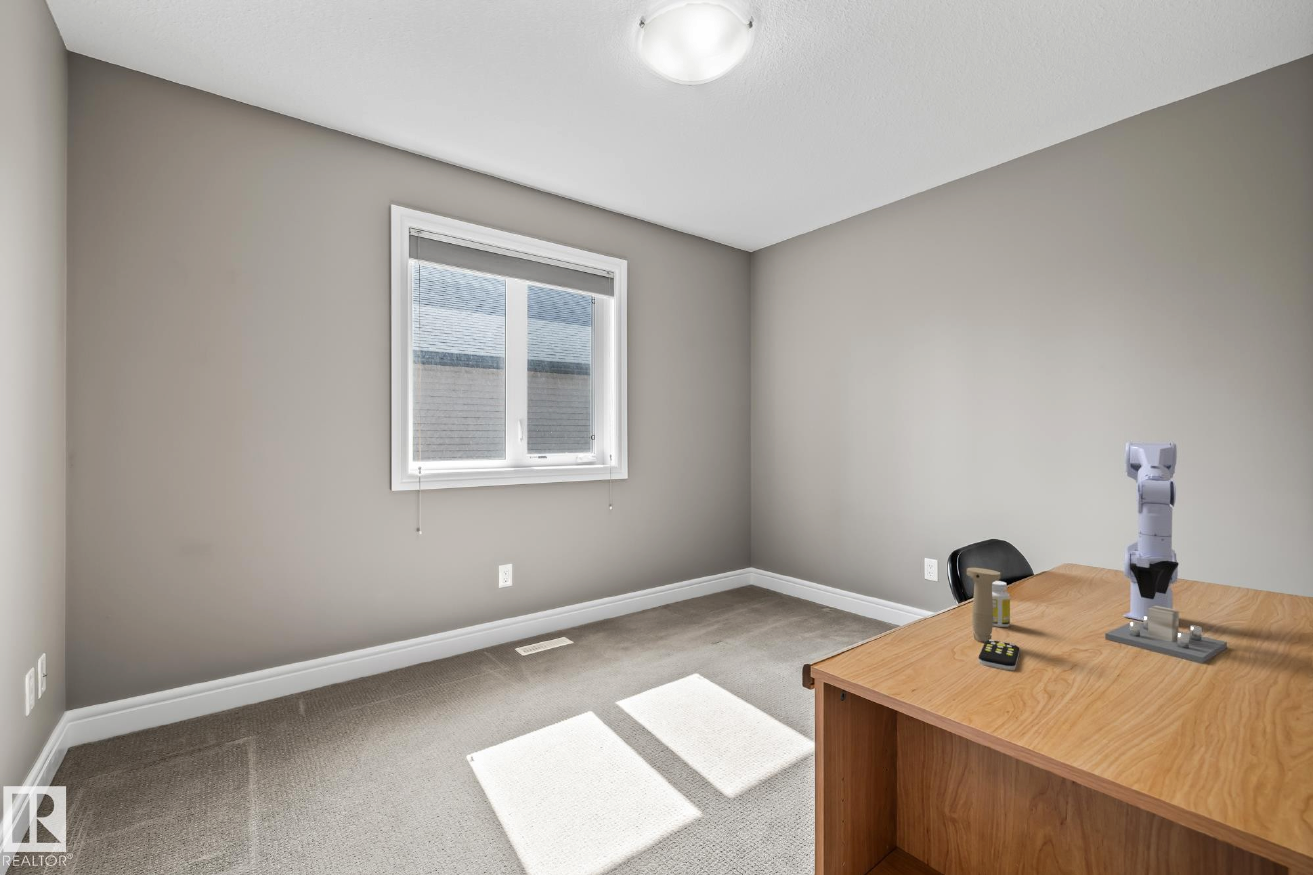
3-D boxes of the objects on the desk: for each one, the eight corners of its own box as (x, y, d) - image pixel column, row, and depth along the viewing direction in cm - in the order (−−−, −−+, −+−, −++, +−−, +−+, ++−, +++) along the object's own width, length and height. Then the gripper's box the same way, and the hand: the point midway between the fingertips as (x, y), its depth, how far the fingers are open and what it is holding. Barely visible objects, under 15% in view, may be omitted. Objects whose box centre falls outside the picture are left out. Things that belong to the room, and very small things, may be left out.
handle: (973, 633, 130) (973, 566, 130) (1003, 642, 125) (1004, 572, 125) (961, 637, 127) (962, 569, 127) (992, 646, 122) (993, 575, 122)
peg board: (1133, 626, 136) (1133, 609, 136) (1226, 647, 123) (1227, 628, 123) (1105, 638, 128) (1105, 620, 128) (1202, 663, 114) (1202, 643, 114)
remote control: (977, 665, 113) (977, 655, 113) (985, 646, 123) (985, 637, 123) (1014, 673, 109) (1014, 663, 109) (1019, 653, 120) (1020, 643, 120)
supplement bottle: (1006, 621, 139) (1007, 580, 139) (1012, 628, 134) (1013, 586, 134) (981, 619, 141) (981, 578, 140) (985, 626, 135) (986, 584, 135)
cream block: (1154, 632, 128) (1155, 605, 128) (1178, 638, 125) (1178, 610, 125) (1147, 636, 126) (1148, 608, 126) (1171, 641, 123) (1172, 613, 123)
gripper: (1144, 528, 136) (1143, 586, 137) (1119, 534, 128) (1118, 596, 129) (1183, 533, 131) (1182, 593, 131) (1160, 539, 123) (1159, 604, 123)
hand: (1153, 595), depth 129 cm, fingers open, 7 cm apart
